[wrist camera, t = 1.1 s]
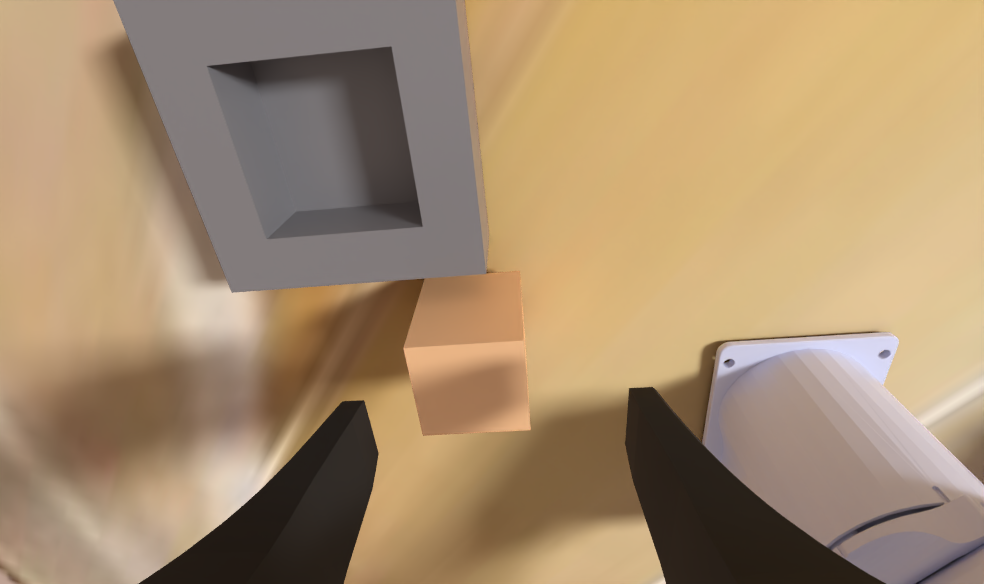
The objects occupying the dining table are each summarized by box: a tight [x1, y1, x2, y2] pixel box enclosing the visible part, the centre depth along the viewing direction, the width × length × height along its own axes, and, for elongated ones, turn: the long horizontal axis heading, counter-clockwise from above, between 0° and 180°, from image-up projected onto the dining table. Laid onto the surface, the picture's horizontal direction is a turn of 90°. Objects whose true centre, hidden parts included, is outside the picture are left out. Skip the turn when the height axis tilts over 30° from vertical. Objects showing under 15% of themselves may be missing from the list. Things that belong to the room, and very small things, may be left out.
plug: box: [403, 271, 531, 436], centre depth 20 cm, size 4×4×6 cm
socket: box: [113, 0, 489, 293], centre depth 17 cm, size 10×10×4 cm
